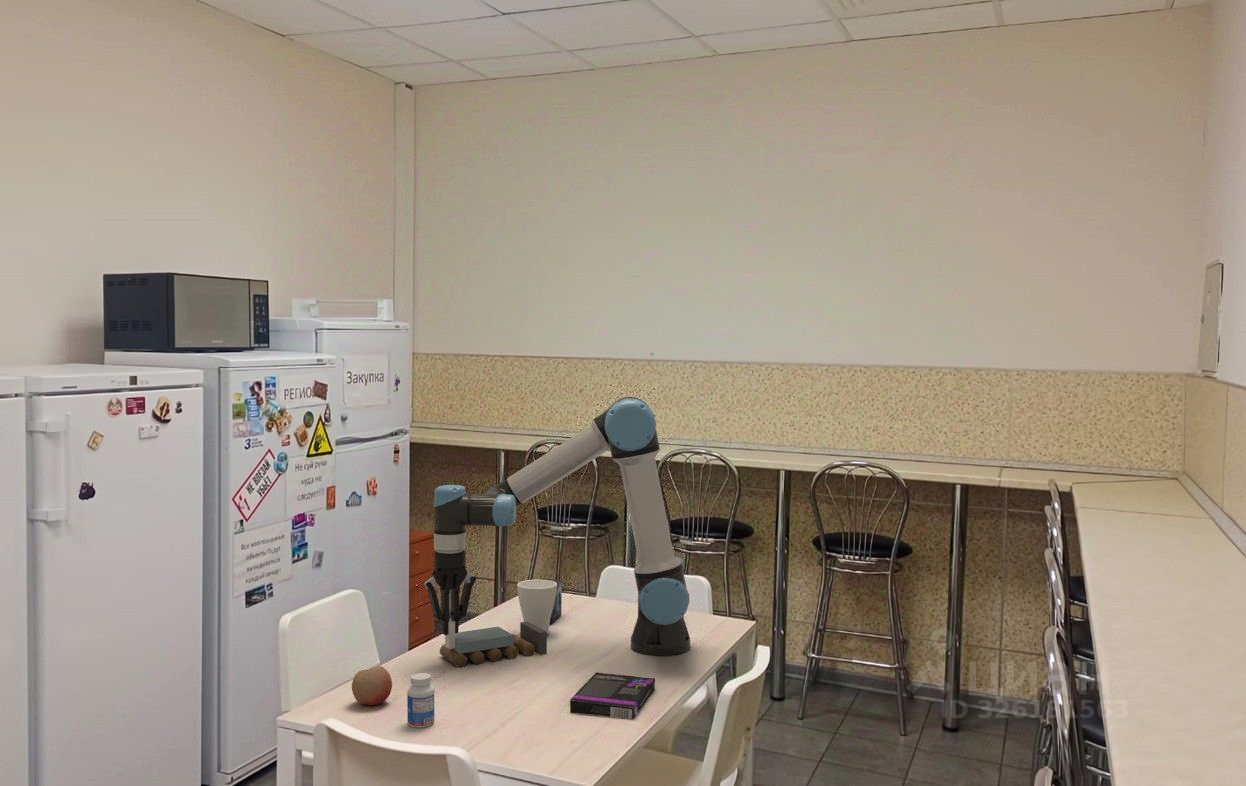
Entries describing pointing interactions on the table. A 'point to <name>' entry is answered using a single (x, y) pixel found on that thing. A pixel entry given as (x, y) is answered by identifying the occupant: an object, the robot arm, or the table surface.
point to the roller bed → (488, 652)
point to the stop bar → (534, 636)
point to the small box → (556, 601)
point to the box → (612, 695)
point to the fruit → (372, 686)
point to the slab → (482, 639)
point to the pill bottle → (420, 701)
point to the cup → (537, 601)
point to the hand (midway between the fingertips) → (450, 647)
